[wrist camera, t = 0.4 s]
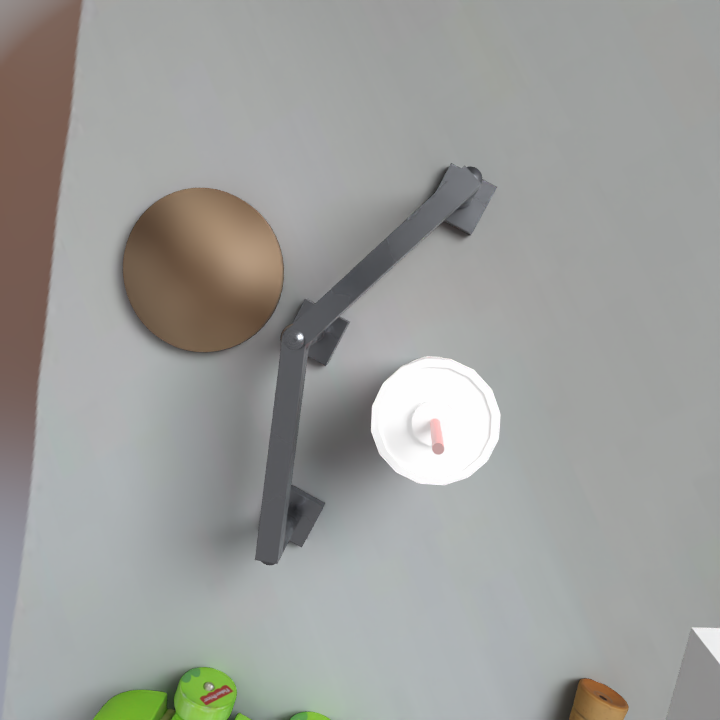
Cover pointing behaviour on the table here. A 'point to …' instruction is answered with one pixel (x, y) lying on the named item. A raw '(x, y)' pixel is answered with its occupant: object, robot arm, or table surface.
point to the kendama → (597, 702)
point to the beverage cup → (435, 421)
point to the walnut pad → (203, 270)
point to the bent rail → (319, 340)
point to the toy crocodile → (184, 701)
